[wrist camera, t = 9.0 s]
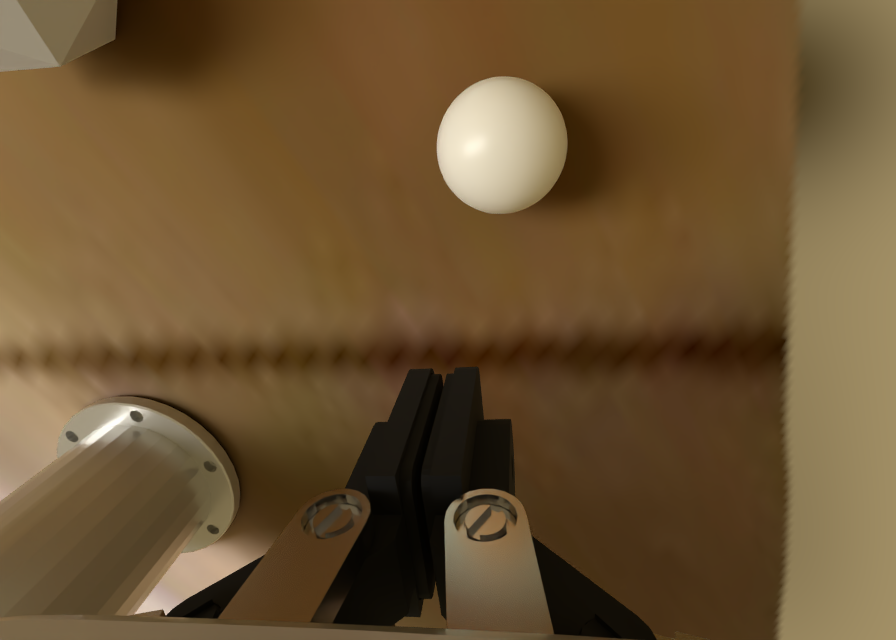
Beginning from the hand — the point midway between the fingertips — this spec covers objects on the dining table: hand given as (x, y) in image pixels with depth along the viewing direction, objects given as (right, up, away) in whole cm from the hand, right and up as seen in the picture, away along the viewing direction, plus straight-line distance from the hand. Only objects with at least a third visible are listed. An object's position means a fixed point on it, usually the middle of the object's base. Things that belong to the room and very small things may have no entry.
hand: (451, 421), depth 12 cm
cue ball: (+2, +10, +9) cm, 14 cm away
